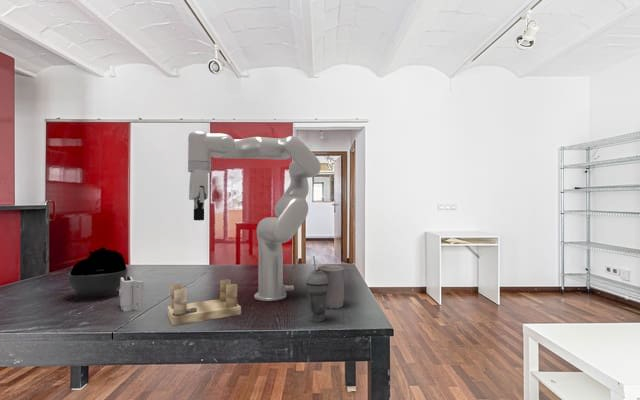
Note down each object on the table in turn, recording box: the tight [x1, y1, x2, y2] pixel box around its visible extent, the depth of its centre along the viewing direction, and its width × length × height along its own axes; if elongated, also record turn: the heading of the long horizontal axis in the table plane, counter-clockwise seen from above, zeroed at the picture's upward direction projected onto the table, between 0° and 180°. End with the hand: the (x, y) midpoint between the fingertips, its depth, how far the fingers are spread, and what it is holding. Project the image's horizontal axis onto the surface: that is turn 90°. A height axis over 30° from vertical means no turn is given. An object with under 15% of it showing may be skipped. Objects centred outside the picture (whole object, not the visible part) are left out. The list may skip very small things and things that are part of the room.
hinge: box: [118, 275, 145, 313], centre depth 116 cm, size 14×5×10 cm, turn 47°
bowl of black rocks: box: [67, 246, 128, 298], centre depth 132 cm, size 20×20×19 cm
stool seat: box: [167, 278, 242, 326], centre depth 110 cm, size 21×13×10 cm, turn 120°
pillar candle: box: [317, 263, 345, 310], centre depth 120 cm, size 10×10×15 cm
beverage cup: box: [305, 255, 329, 323], centre depth 105 cm, size 7×7×20 cm
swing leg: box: [174, 288, 197, 315], centre depth 103 cm, size 7×4×7 cm, turn 125°
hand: (198, 220), depth 115 cm, fingers closed
